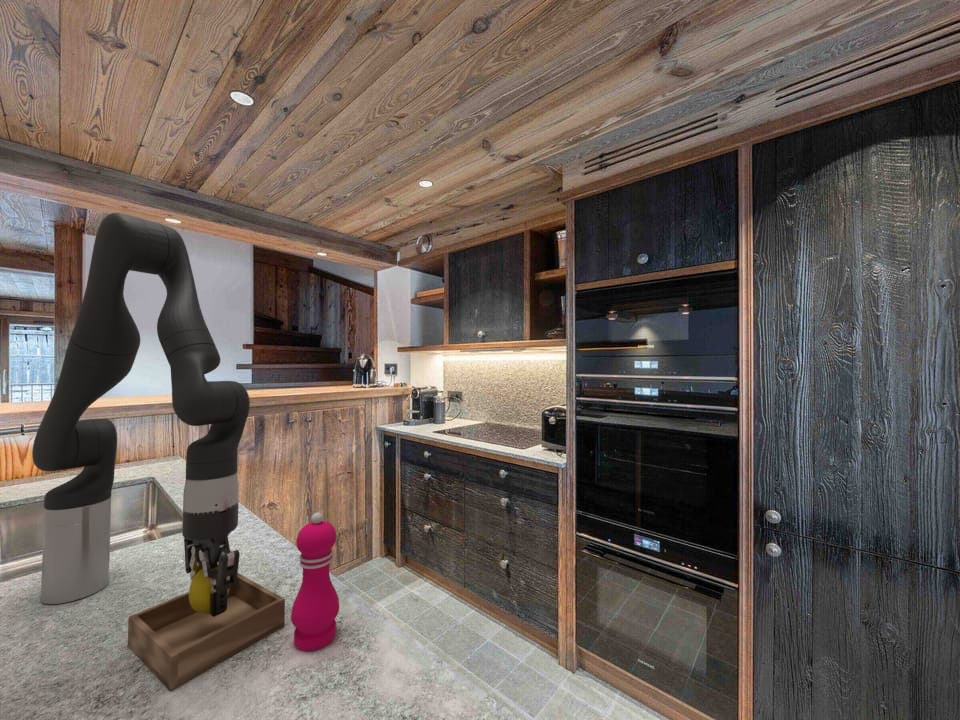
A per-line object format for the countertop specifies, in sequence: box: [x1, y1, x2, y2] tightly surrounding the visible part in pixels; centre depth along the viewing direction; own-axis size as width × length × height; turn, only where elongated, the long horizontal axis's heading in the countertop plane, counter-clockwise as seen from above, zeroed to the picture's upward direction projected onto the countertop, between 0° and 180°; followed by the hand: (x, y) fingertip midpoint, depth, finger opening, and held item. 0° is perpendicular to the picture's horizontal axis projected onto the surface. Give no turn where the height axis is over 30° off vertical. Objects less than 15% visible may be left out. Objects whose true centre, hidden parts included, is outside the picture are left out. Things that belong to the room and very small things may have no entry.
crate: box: [127, 572, 286, 692], centre depth 64 cm, size 16×16×4 cm
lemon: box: [188, 567, 230, 614], centre depth 64 cm, size 6×6×8 cm
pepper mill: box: [290, 512, 340, 652], centre depth 63 cm, size 7×7×20 cm
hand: (209, 606), depth 64 cm, fingers closed on lemon, 5 cm apart
